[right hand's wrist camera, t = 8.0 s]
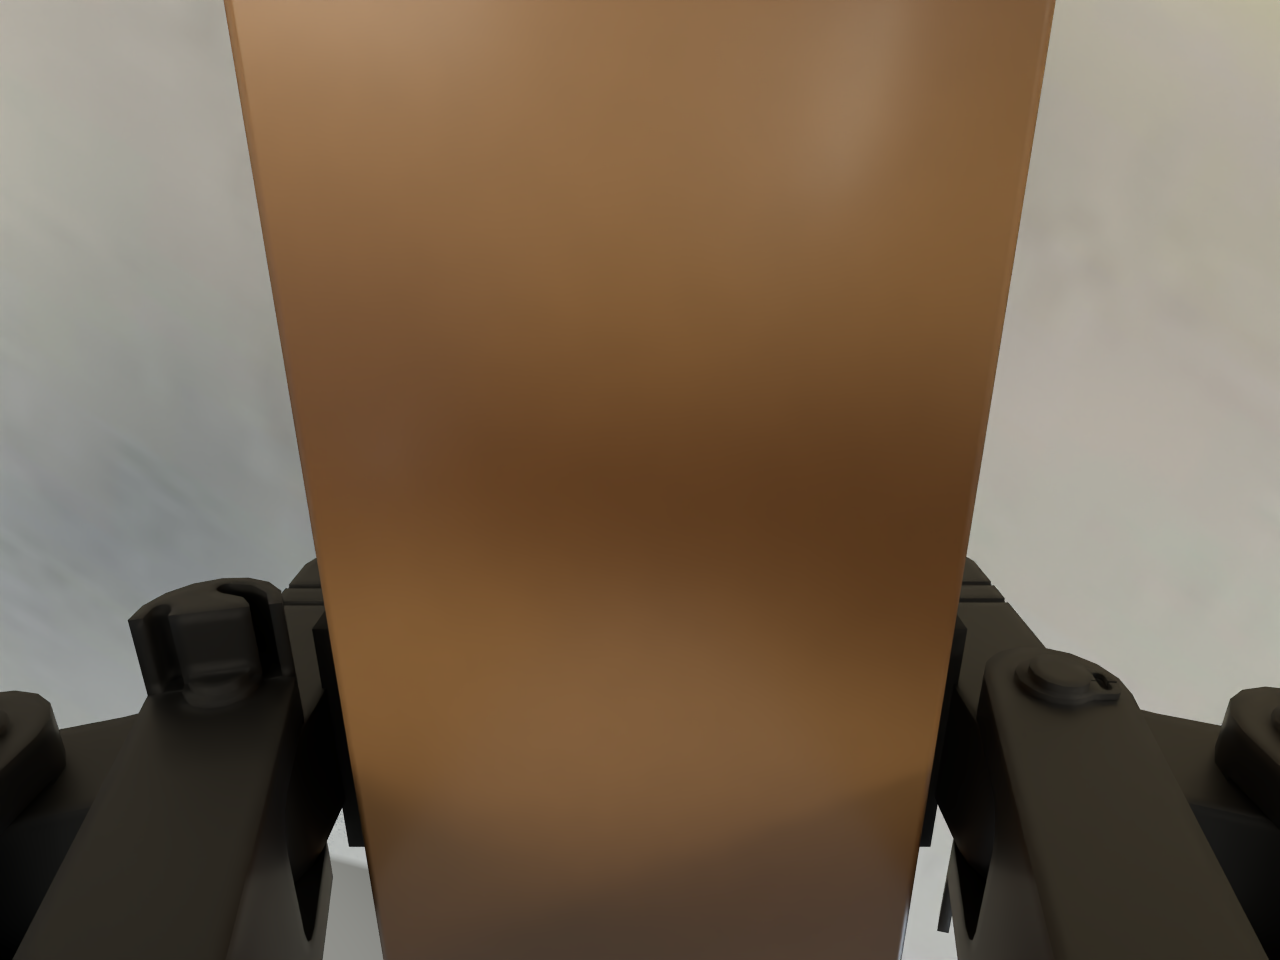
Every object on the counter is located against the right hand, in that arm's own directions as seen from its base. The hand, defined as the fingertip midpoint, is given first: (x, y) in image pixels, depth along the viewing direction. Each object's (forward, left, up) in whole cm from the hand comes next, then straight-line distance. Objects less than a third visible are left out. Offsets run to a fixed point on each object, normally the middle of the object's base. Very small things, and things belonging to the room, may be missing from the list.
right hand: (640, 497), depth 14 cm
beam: (-6, -19, -1) cm, 20 cm away
